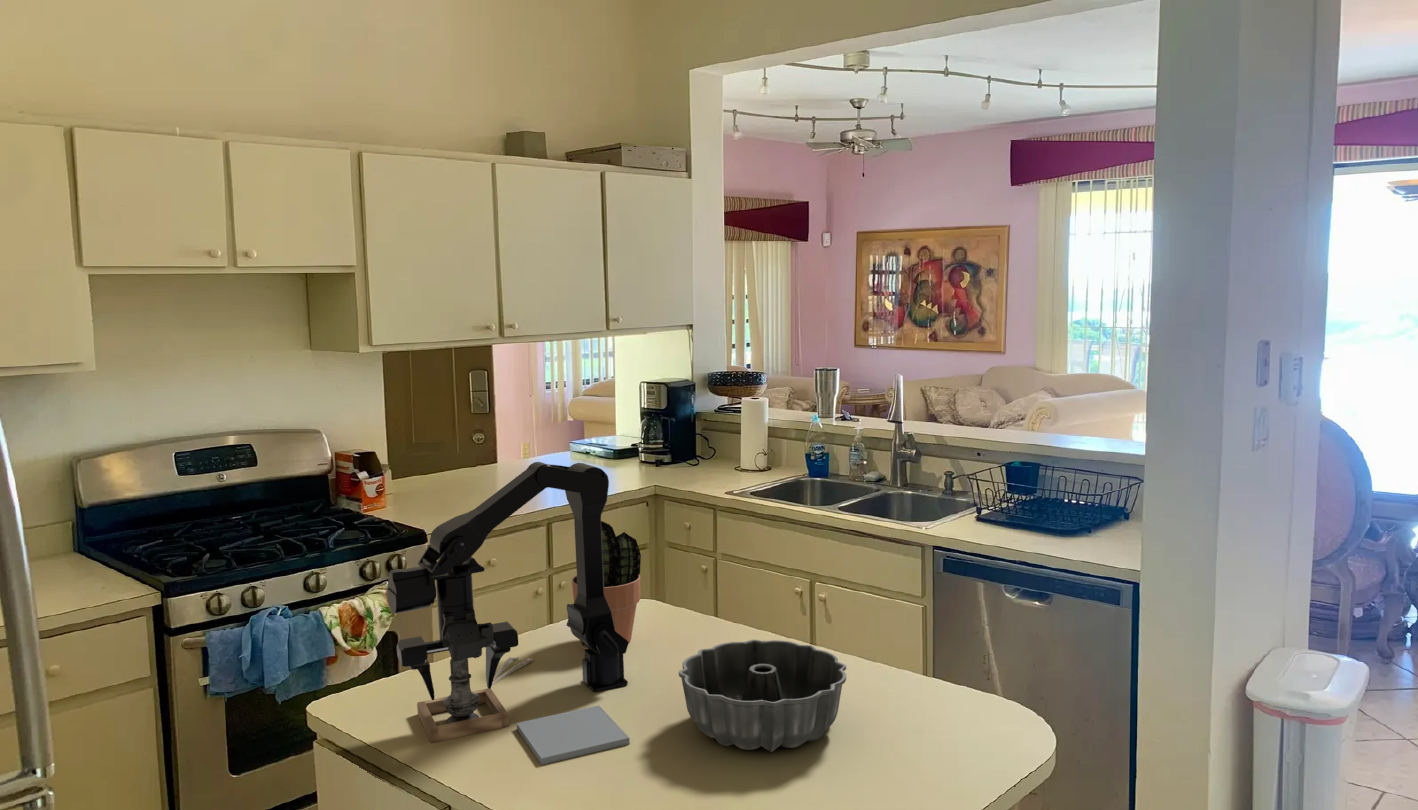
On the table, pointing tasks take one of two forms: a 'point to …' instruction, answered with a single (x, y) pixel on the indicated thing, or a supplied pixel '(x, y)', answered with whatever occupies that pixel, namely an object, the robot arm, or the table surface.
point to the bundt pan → (763, 692)
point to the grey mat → (571, 734)
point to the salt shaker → (460, 693)
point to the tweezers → (511, 668)
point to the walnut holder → (467, 726)
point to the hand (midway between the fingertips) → (461, 693)
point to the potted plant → (619, 578)
